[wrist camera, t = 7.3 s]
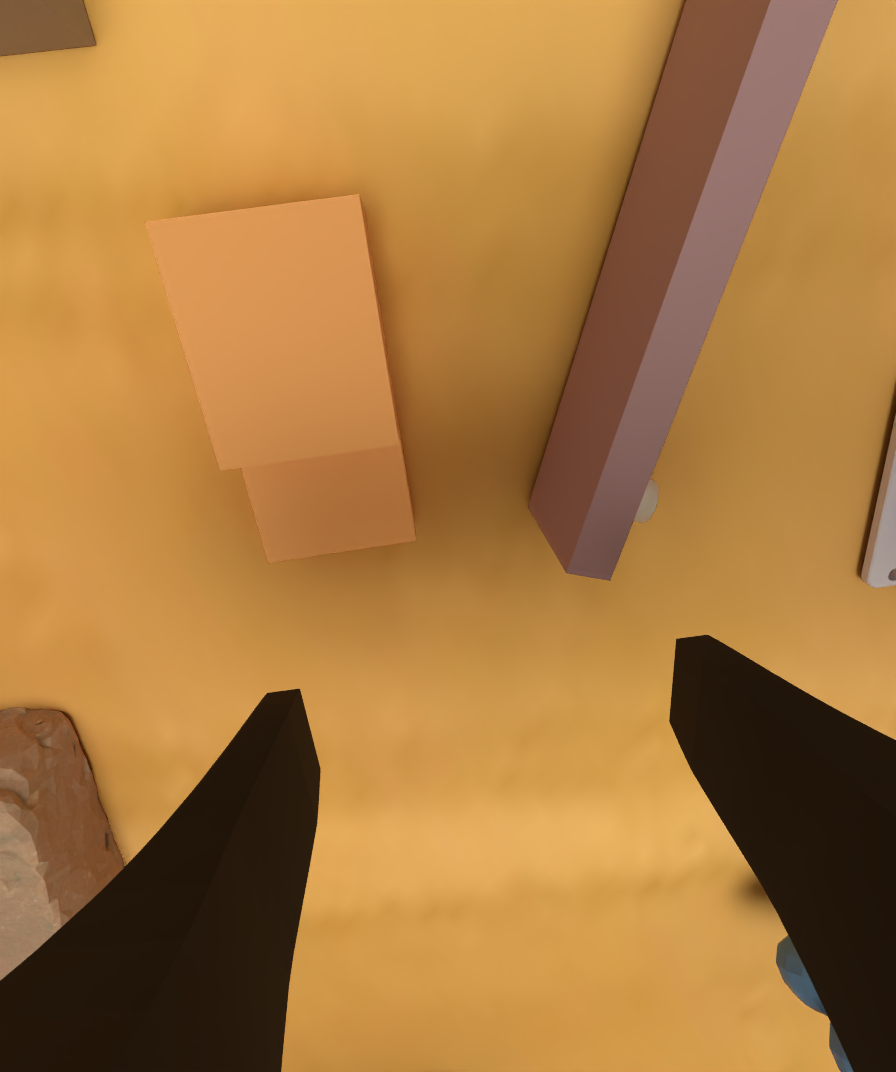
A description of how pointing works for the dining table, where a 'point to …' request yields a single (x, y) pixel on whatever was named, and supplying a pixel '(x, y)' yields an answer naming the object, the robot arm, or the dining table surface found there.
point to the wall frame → (43, 26)
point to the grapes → (807, 993)
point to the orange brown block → (292, 369)
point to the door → (670, 264)
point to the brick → (46, 831)
